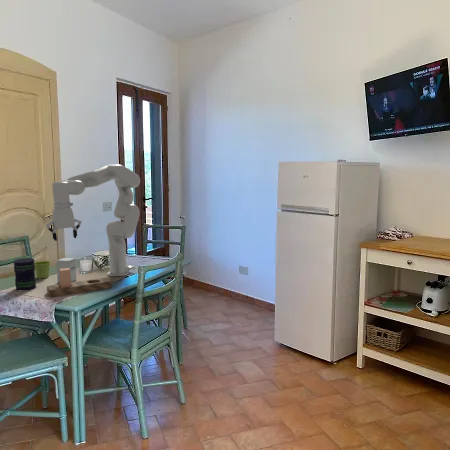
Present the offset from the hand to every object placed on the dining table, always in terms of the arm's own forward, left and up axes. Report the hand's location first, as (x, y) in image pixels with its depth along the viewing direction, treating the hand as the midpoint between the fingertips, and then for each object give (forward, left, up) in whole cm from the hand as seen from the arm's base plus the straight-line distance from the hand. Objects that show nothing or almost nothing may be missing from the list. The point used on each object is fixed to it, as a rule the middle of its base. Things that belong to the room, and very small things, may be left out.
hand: (65, 239), depth 213 cm
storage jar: (+19, -12, -26) cm, 34 cm away
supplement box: (-2, -14, -26) cm, 30 cm away
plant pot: (+8, -31, -26) cm, 41 cm away
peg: (+3, +8, -26) cm, 27 cm away
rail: (-4, +8, -26) cm, 27 cm away
